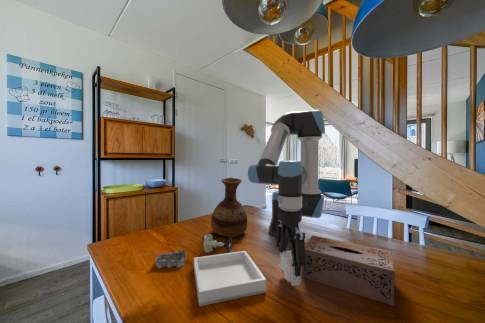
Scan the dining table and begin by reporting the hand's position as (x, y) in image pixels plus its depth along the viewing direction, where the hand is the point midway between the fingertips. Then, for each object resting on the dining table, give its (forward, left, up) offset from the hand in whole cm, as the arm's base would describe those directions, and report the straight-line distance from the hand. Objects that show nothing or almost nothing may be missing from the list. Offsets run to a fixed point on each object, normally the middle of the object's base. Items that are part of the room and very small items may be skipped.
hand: (289, 277), depth 67 cm
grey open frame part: (+37, -24, -2) cm, 44 cm away
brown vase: (+8, -49, -2) cm, 49 cm away
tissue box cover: (-20, +3, -2) cm, 20 cm away
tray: (+19, -8, -2) cm, 21 cm away
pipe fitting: (0, 0, -1) cm, 1 cm away
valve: (+19, -29, -2) cm, 35 cm away
